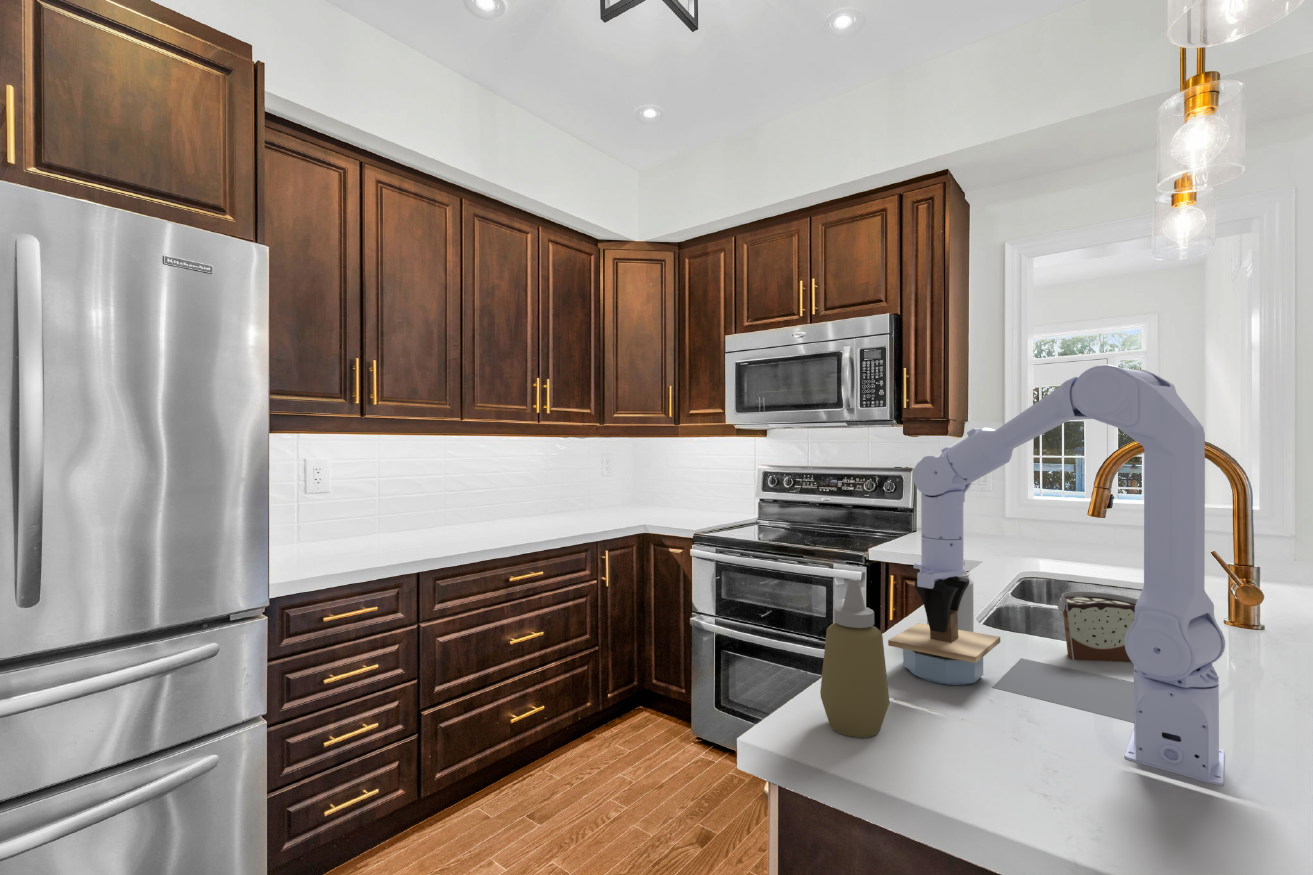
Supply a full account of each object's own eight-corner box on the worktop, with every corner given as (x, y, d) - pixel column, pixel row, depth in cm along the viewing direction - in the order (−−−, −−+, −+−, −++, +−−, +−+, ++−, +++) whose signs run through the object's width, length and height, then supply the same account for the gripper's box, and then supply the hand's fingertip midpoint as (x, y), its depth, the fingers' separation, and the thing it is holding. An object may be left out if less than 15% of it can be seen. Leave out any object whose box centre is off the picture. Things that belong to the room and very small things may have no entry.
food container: (1120, 651, 102) (1120, 591, 102) (1146, 665, 96) (1146, 601, 96) (1042, 649, 104) (1042, 589, 104) (1062, 662, 98) (1062, 598, 98)
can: (917, 634, 112) (917, 567, 112) (951, 630, 114) (951, 565, 114) (948, 647, 105) (948, 576, 105) (983, 643, 107) (983, 573, 107)
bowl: (967, 694, 85) (967, 665, 85) (895, 675, 92) (895, 648, 92) (989, 674, 92) (989, 647, 92) (920, 658, 99) (920, 633, 99)
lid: (975, 663, 83) (974, 627, 83) (888, 645, 92) (887, 612, 92) (1000, 642, 92) (999, 609, 92) (918, 627, 100) (917, 598, 100)
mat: (1136, 726, 76) (1136, 722, 76) (992, 690, 86) (992, 687, 86) (1149, 688, 87) (1149, 685, 87) (1021, 660, 98) (1021, 658, 98)
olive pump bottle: (859, 709, 80) (858, 570, 80) (904, 736, 73) (904, 584, 73) (806, 718, 77) (806, 575, 78) (848, 748, 70) (848, 589, 70)
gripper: (931, 529, 100) (931, 613, 100) (896, 539, 90) (896, 633, 90) (979, 533, 95) (979, 621, 95) (947, 545, 85) (947, 644, 85)
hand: (942, 628), depth 92 cm, fingers closed on lid, 3 cm apart
